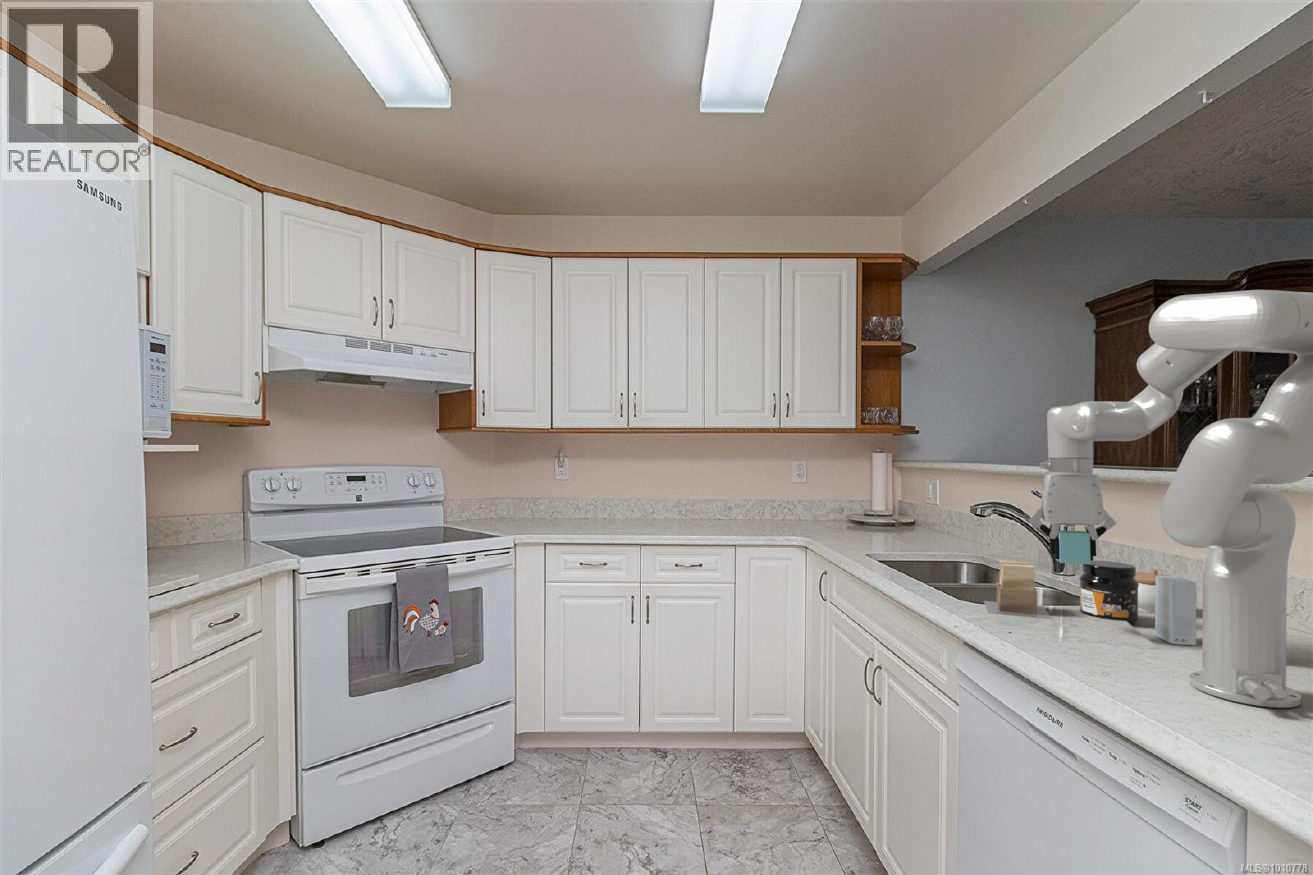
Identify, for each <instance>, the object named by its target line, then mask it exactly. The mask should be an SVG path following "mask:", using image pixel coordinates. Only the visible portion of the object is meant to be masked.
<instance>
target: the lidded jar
mask: <svg viewBox="0 0 1313 875" xmlns="http://www.w3.org/2000/svg"><path fill="white" fill-rule="evenodd" d="M1157 575H1158V576H1171V575H1169V574H1163V573H1158V569H1153V568H1152V569H1151V572H1141V571H1140V572H1139V571H1138V572H1137V571H1136V576H1135V577H1134V578H1135V579H1136V581H1137V582H1138V583H1139V587H1138V611H1139V610H1140V611H1142V612H1146V613H1150V614H1155V593H1156V576H1157Z"/></svg>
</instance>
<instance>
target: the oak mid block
mask: <svg viewBox="0 0 1313 875" xmlns="http://www.w3.org/2000/svg"><path fill="white" fill-rule="evenodd" d="M999 582H1000V584H1001V586H1002V588H1007V589H1019V590H1031V591H1034V588H1035V566H1034V565H1033V564H1031V562H1026V561H1025V562H1024V561H1023V562H1022V561H1008V560H999Z"/></svg>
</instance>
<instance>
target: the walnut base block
mask: <svg viewBox="0 0 1313 875" xmlns="http://www.w3.org/2000/svg"><path fill="white" fill-rule="evenodd" d="M996 602H997V606H998V608H999V610H1000V611H1001V612H1012V613H1022V614H1033V615H1037V606H1038V591H1037V589H1036V588H1035V587H1034V591H1031V590H1019V589H1007V588H1002V586H1001V584H1000V581H999V582H998V581H997V582H996Z"/></svg>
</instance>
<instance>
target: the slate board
mask: <svg viewBox="0 0 1313 875" xmlns="http://www.w3.org/2000/svg"><path fill="white" fill-rule="evenodd" d="M983 603H984V606H985V608H986V610H987V613H988V614H995V615H1005V616H1014V617H1015V616H1016V617H1024V618H1035V619H1045V620H1053V618H1052V616H1051V615H1050V614H1049V612H1048V611H1047V609H1046V608H1045V607H1044V606H1043V605H1037V615H1033V614H1022V613H1012V612H1001V611H1000V610H999V608H998V606H997V601H990V600H983Z"/></svg>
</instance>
